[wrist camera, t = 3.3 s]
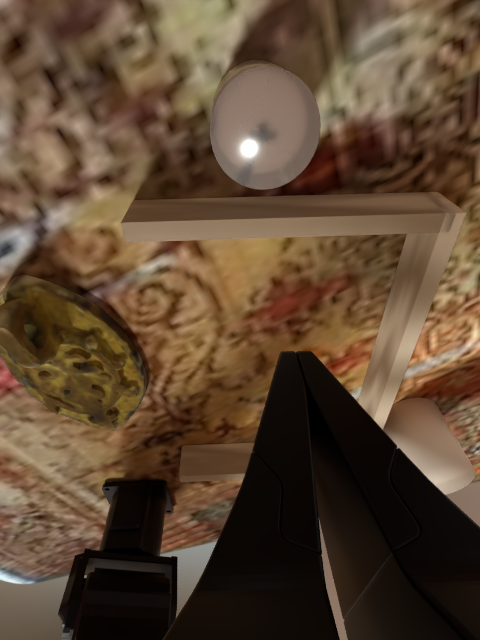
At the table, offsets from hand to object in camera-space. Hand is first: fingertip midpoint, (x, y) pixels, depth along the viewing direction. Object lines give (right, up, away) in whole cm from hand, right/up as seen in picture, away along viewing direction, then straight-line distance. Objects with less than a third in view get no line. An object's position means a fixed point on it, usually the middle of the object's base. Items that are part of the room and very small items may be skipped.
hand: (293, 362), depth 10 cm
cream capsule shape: (+14, -7, +22) cm, 27 cm away
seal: (-13, -1, +17) cm, 22 cm away
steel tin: (-1, +11, +7) cm, 13 cm away
